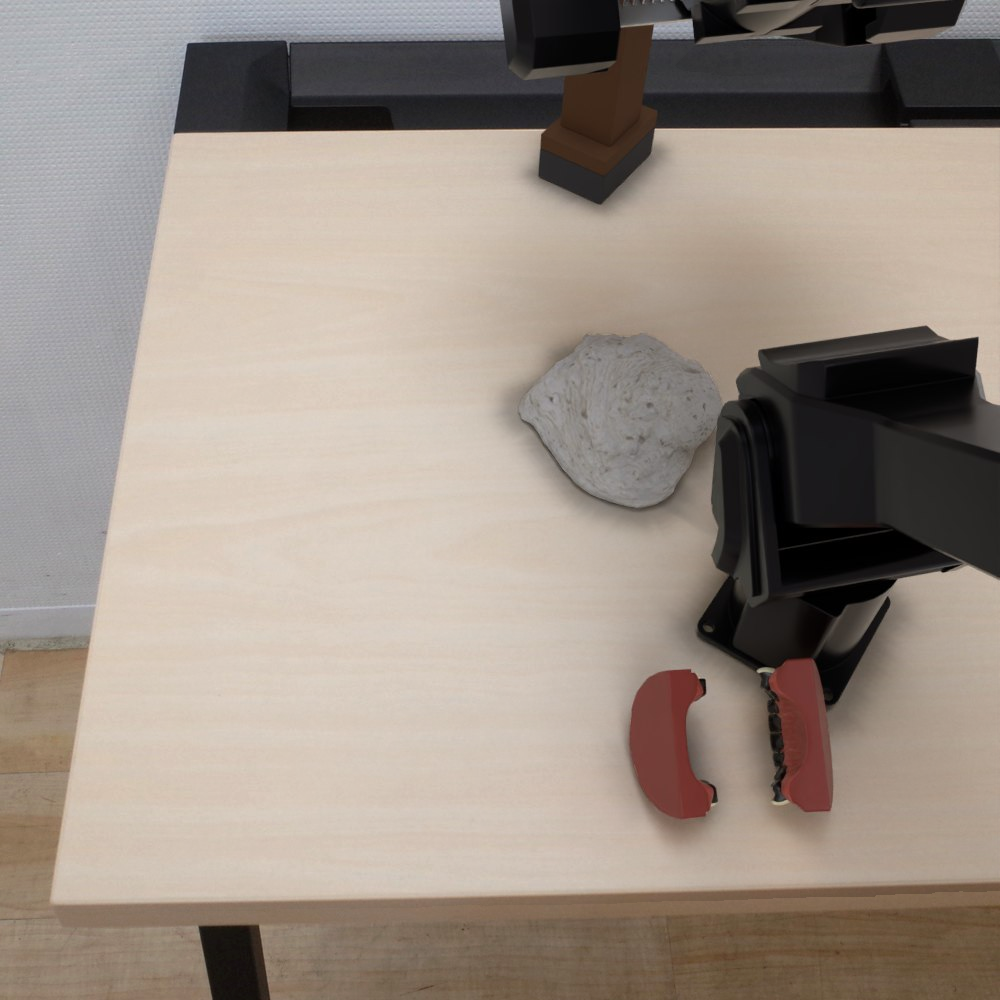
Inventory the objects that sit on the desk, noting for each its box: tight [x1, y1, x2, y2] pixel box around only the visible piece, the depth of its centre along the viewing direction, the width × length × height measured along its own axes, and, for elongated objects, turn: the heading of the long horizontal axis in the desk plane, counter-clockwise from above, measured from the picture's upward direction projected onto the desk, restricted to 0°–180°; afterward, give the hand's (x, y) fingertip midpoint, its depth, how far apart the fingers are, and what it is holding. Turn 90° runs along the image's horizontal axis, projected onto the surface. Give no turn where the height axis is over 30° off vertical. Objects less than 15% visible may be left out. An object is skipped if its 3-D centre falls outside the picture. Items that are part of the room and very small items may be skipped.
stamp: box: [537, 0, 659, 205], centre depth 61 cm, size 6×4×13 cm
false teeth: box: [628, 658, 834, 820], centre depth 42 cm, size 6×4×8 cm
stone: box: [517, 332, 723, 510], centre depth 53 cm, size 10×5×10 cm
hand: (666, 28), depth 51 cm, fingers open, 9 cm apart
